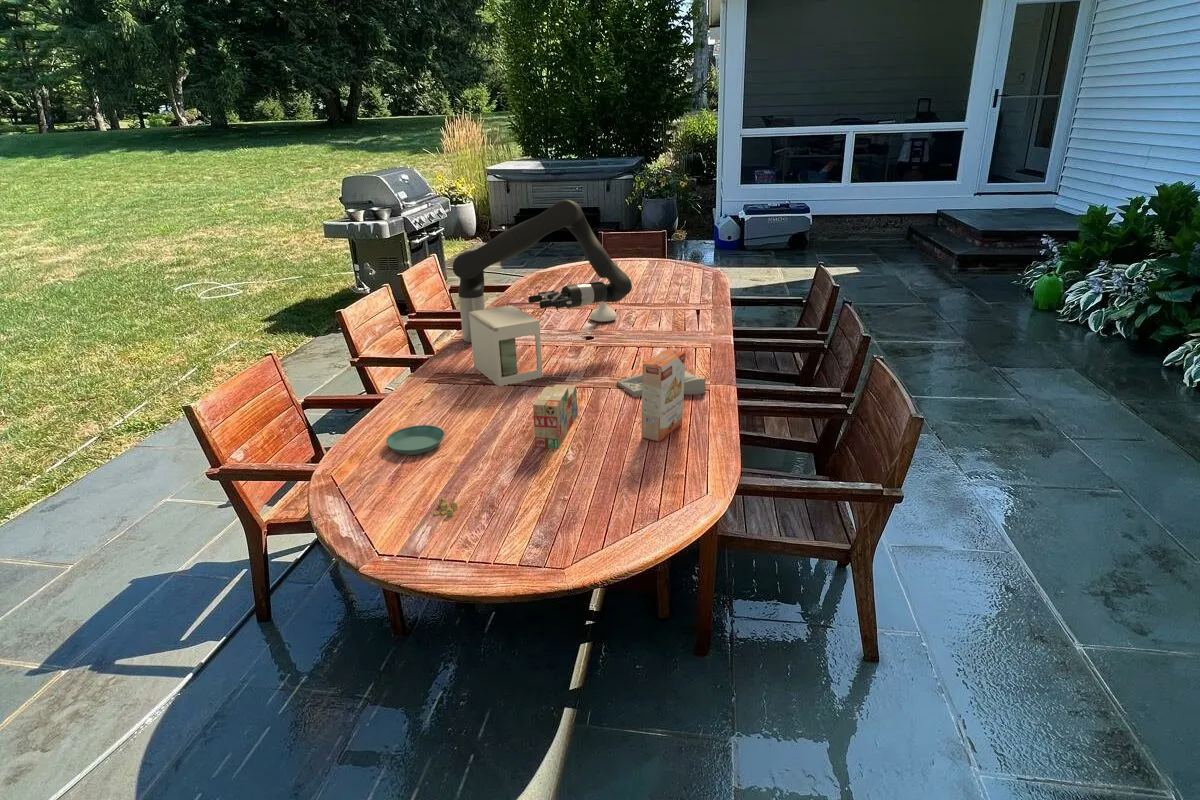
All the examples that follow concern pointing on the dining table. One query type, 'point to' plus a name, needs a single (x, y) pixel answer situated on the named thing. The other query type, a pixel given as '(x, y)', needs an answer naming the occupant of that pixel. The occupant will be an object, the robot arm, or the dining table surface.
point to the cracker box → (662, 394)
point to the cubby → (501, 326)
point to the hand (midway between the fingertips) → (534, 302)
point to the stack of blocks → (554, 415)
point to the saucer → (415, 439)
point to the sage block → (508, 356)
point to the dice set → (444, 507)
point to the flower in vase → (603, 310)
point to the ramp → (690, 384)
